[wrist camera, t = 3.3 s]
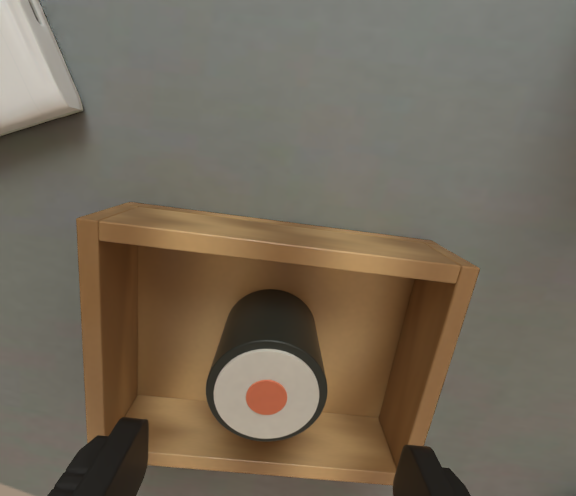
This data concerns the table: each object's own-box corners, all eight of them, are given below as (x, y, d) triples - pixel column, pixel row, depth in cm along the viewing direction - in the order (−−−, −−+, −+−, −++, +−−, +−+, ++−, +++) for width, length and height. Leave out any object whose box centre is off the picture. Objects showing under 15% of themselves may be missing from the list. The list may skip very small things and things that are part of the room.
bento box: (129, 394, 19) (87, 460, 15) (129, 201, 16) (75, 217, 12) (384, 418, 20) (411, 487, 16) (432, 240, 17) (481, 268, 13)
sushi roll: (222, 363, 18) (200, 441, 13) (229, 283, 16) (207, 337, 11) (308, 372, 18) (317, 452, 13) (322, 294, 17) (338, 351, 12)
